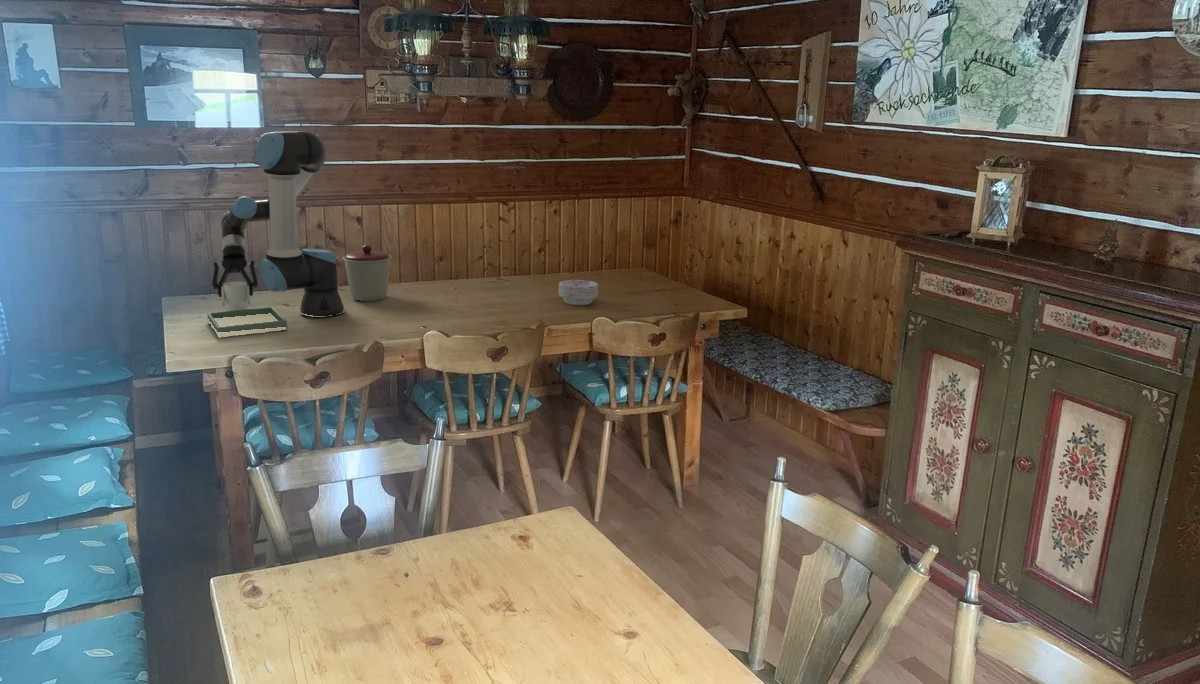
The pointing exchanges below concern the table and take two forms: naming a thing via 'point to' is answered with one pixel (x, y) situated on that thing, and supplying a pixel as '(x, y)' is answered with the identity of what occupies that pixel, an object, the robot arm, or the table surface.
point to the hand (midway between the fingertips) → (236, 303)
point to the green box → (266, 310)
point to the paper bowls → (578, 291)
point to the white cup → (235, 295)
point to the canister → (367, 273)
